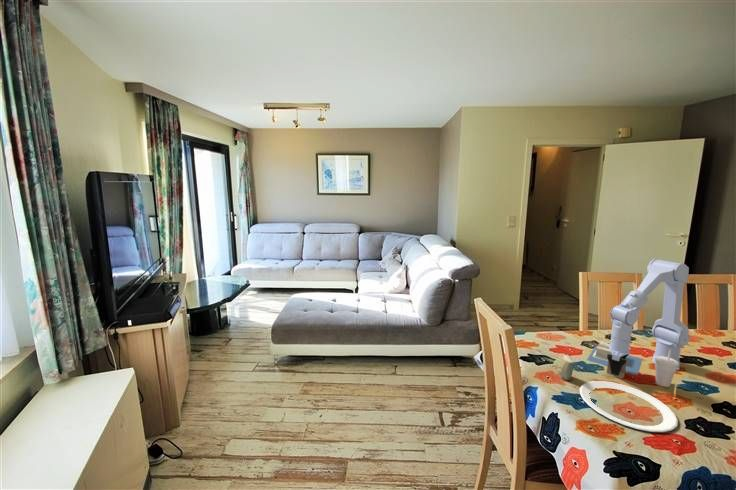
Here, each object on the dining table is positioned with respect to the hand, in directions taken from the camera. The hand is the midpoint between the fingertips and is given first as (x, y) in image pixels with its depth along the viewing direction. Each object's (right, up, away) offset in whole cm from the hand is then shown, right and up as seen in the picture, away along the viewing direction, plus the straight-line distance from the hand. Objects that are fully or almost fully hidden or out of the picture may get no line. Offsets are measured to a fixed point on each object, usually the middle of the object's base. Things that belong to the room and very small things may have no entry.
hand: (616, 370), depth 120 cm
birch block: (+6, +1, +12) cm, 14 cm away
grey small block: (-21, -2, -2) cm, 21 cm away
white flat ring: (-11, -5, -17) cm, 21 cm away
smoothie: (+12, -3, -6) cm, 14 cm away
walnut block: (0, -2, 0) cm, 2 cm away
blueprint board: (+7, 0, +10) cm, 12 cm away
